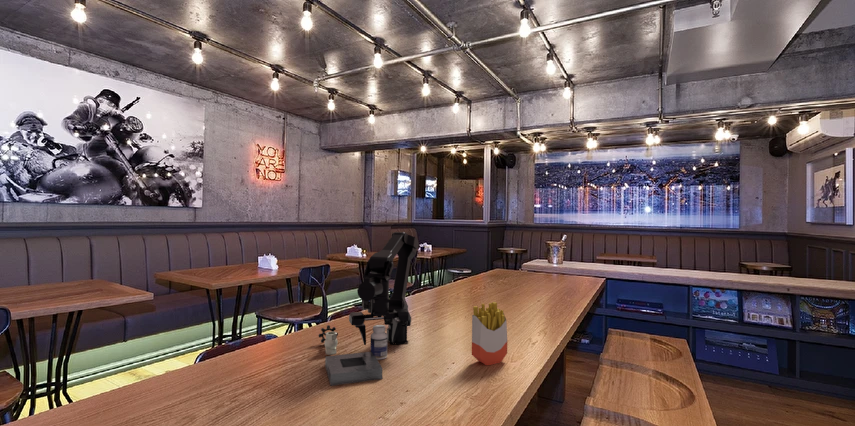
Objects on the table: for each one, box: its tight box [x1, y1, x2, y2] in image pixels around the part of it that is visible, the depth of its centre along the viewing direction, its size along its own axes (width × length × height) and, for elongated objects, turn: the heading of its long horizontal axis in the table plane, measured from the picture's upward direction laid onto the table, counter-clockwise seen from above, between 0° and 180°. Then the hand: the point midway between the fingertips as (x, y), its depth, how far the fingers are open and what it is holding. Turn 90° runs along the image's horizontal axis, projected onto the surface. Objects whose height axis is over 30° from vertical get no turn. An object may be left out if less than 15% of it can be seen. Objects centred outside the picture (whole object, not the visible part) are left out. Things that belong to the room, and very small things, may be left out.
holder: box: [324, 351, 383, 387], centre depth 111 cm, size 14×14×3 cm
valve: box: [318, 324, 339, 356], centre depth 131 cm, size 7×7×12 cm
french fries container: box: [471, 301, 508, 366], centre depth 121 cm, size 5×11×18 cm, turn 119°
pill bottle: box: [369, 324, 388, 361], centre depth 124 cm, size 5×5×10 cm
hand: (379, 343), depth 124 cm, fingers open, 9 cm apart
